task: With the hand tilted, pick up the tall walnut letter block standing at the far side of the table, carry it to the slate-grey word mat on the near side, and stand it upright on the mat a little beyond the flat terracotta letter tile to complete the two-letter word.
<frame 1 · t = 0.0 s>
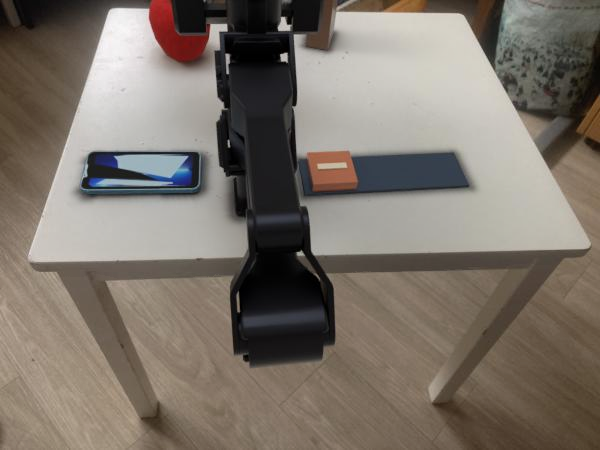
word mat: (382, 174, 68), on the table
letter tile: (330, 174, 66), resting on word mat
smartphone: (144, 175, 65), on the table
letter block: (319, 39, 88), on the table
apple: (185, 56, 83), on the table
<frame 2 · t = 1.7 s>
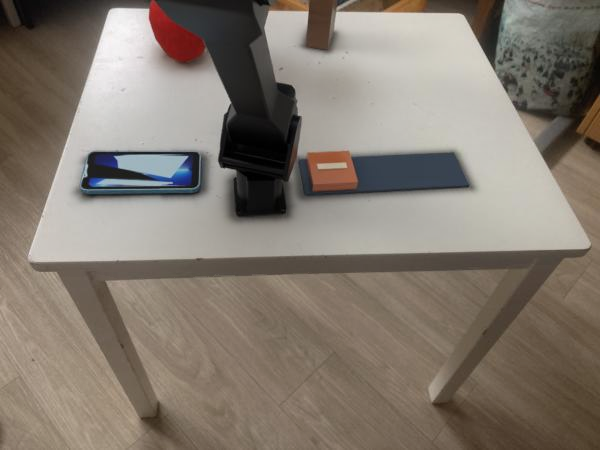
nothing on the table moved.
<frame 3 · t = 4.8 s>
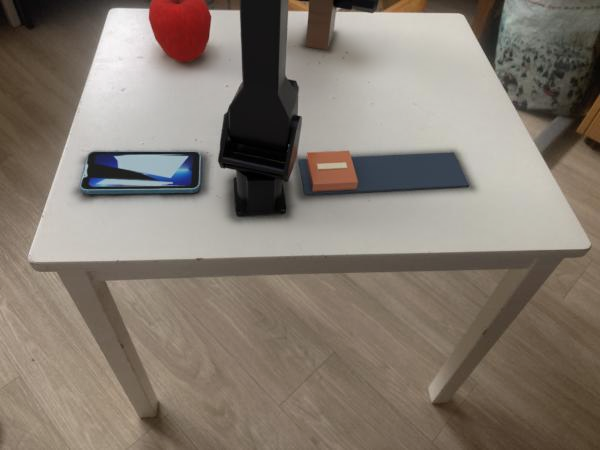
hand: (325, 0, 84), 7 cm above the table, tool tilted 45°, fingers closed on letter block, 4 cm apart
letter block: (319, 39, 88), on the table, touching gripper
everything else where it was.
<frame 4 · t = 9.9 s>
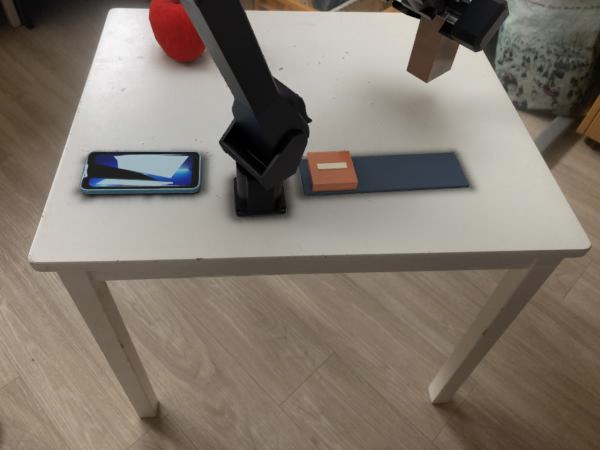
hand: (447, 27, 69), 13 cm above the table, tool tilted 45°, fingers closed on letter block, 4 cm apart
letter block: (428, 70, 74), point 6 cm above the table, touching gripper
everything else where it was.
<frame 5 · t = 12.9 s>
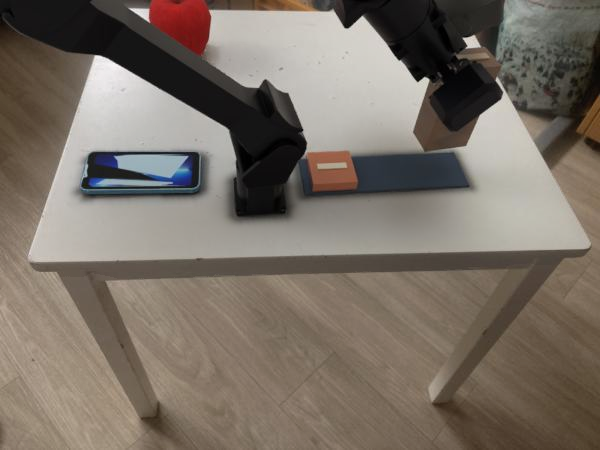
hand: (464, 96, 59), 12 cm above the table, tool tilted 45°, fingers closed on letter block, 4 cm apart
letter block: (439, 139, 64), point 6 cm above the table, touching gripper
everything else where it was.
when the fingers open (7 cm above the table, at t = 15.0 s): letter block stays where it is, resting on word mat.
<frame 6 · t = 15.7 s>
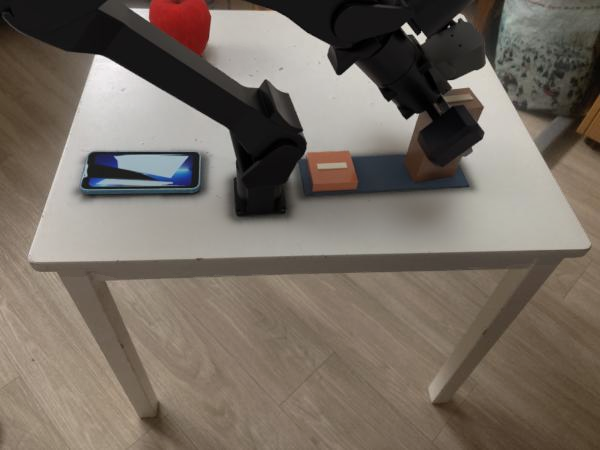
hand: (452, 129, 63), 7 cm above the table, tool tilted 45°, fingers open, 9 cm apart
letter block: (428, 169, 68), resting on word mat
everything else where it was.
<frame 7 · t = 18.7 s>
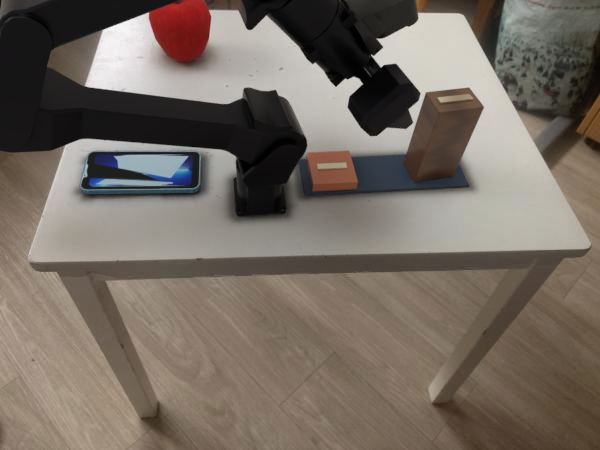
hand: (391, 101, 57), 13 cm above the table, tool tilted 45°, fingers open, 9 cm apart
nothing on the table moved.
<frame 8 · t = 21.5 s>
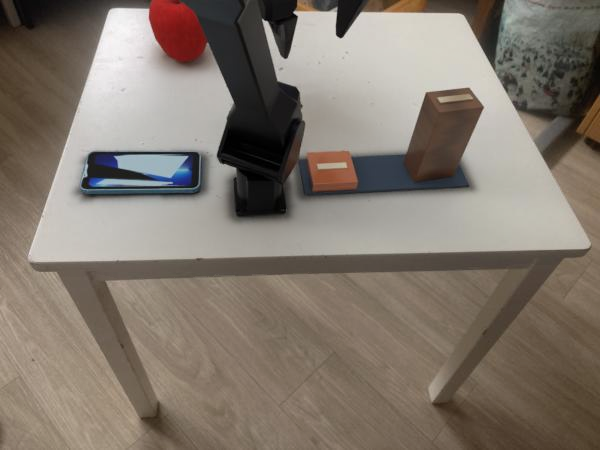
hand: (312, 46, 63), 13 cm above the table, tool pointing down, fingers open, 9 cm apart
nothing on the table moved.
at the end: letter block 0.0 cm from the target spot on the word mat, point 0.4 cm above the word mat's base; letter block tilted 0°; letter block 14.0 cm from the letter tile (horizontally) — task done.
